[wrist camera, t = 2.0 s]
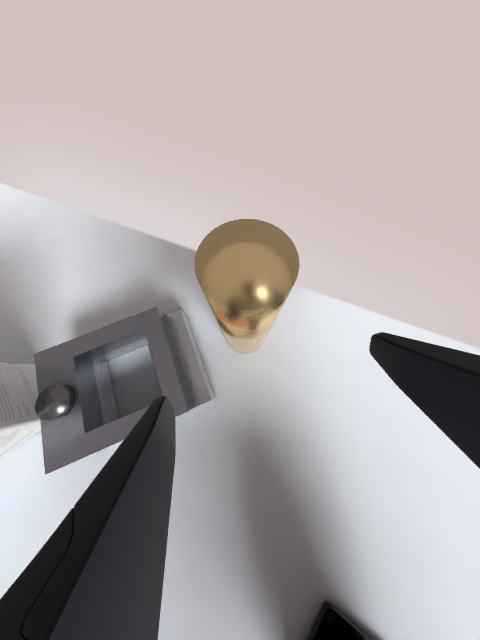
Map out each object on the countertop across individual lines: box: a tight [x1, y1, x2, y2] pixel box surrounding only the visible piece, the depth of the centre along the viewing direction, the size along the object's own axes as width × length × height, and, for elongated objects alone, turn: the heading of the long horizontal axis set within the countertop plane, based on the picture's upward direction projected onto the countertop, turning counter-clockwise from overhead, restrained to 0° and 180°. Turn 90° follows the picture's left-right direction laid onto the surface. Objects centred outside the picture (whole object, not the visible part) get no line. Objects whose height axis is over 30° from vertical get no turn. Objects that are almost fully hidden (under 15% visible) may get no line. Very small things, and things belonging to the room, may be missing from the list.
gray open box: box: [34, 307, 215, 474], centre depth 16 cm, size 12×9×5 cm
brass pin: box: [195, 219, 299, 353], centre depth 13 cm, size 4×4×13 cm
